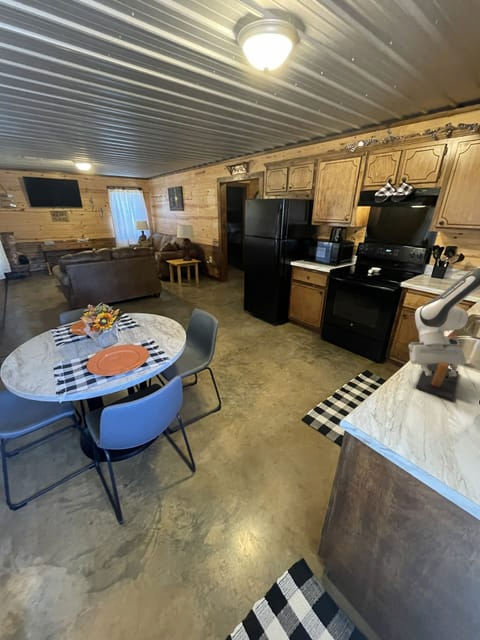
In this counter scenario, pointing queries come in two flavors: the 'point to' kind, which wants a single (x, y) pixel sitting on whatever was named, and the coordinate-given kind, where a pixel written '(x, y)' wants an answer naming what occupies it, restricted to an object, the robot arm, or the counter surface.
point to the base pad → (447, 376)
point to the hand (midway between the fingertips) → (441, 375)
